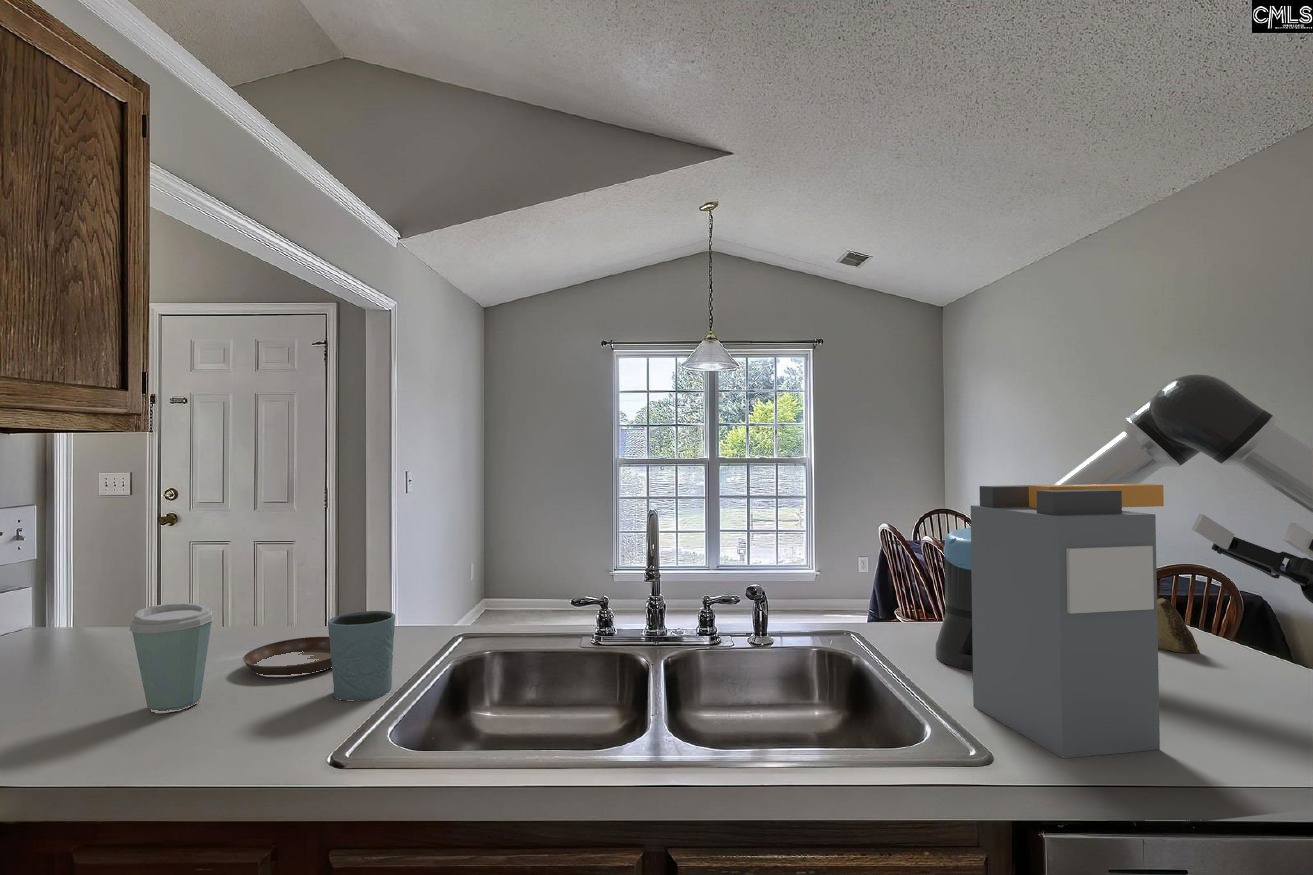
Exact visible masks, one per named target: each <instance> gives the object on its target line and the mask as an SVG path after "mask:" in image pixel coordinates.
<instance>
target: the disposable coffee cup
mask: <svg viewBox="0 0 1313 875" xmlns="http://www.w3.org/2000/svg"><path fill="white" fill-rule="evenodd" d="M213 612H214V611H213V610H212V609H210V607H209V606H207V605H204V604H202V603H201V604H200V603H193V602H192V603H190V602H174V603H173V602H172V603H169V602H168V603H163V604H157V605H152V606H149V607H145V608H142V609H139V610H137V611H136V612H135V614H134V616H133V620H132V621H131V622H130V624H129V632H131V633H132V638H133V643H134V646H135V652H136V653H135V654H136V656H137V663H138V667H139V671H140V676H141V681H142V687H143V691H144V696H145V701H146V707H147V708H150V709H152V710H158V711H167V710H168V711H169V710H179V709H183V708H185V707H188V706H191V705H194V704H195V703H197V702H198V701H199V702H200V699H201V696H202V691H203V683H204V677H205V671H206V663H207V657H208V649H209V642H210V636H211V629H212V622H213V620H214V617H215V616H214V613H213ZM199 702H198V703H199ZM150 709H149V710H150Z"/></svg>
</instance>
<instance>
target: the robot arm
mask: <svg viewBox="0 0 1313 875" xmlns="http://www.w3.org/2000/svg"><path fill="white" fill-rule="evenodd" d="M1199 453H1202V454H1204V455H1206V456H1208V457H1209V458H1211V459H1212V460H1214V461H1216V462H1218V463H1219V464H1220V465H1223V466H1224V465H1225V466H1228V465H1229V466H1230V465H1233V466H1236V467H1238V468H1239V469H1241V470H1243V471H1244V472H1246V473H1247V474H1249V475H1250V476H1252V477H1254V478H1255V479H1257V480H1258V481H1260V482H1261V483H1263V484H1264V485H1266V486H1268V487H1269V488H1271V489H1272V490H1273V491H1276V493H1278V494H1280V495H1281V496H1283V497H1285V498H1286V499H1287V500H1289V501H1291V502H1292V503H1294V504H1296V505H1297V506H1299V507H1300V508H1302V509H1303V510H1305V511H1306V512H1308V513H1310V514H1311V515H1313V447H1311V446H1309V445H1308V444H1306V443H1305V442H1303V441H1302V440H1299V439H1298V438H1296V437H1295V436H1293V435H1292V434H1289V433H1288V432H1287V431H1285V430H1284V429H1281V428H1280V427H1278V425H1277V423H1276V416H1274V415H1273V414H1272V413H1269V412H1268V411H1266V410H1265V409H1263V408H1262V407H1260V406H1259V405H1258V404H1255V402H1253V401H1251V400H1250V399H1249V398H1248V397H1246V396H1244V395H1243V394H1241V393H1240V392H1239V391H1238V390H1237V389H1235V388H1234V387H1233V386H1231V384H1228V383H1227V382H1226V381H1224V380H1222V379H1220V378H1217V377H1216V376H1211V375H1206V374H1188V375H1184V376H1179V377H1177V378H1174V379H1173V380H1170V381H1169V382H1167V383H1165V385H1163V386H1162V387H1161V388H1160V389H1159V391H1157V392H1156V394H1155V395H1153V397H1151V398H1150V399H1148V400H1147V401H1146V402H1144V403H1143V404H1142V405H1140V406H1139V407H1137V409H1136V410H1134V411H1133V412H1132V413H1130V414H1129V415H1128V416H1127V417H1125V418H1124V428H1123V431H1122V432H1120V433H1119V434H1117V435H1116V436H1115V437H1114V438H1112V439H1111V440H1110V441H1108V442H1107V443H1106V444H1104V445H1103V446H1102V447H1101V448H1099V449H1097V451H1095V452H1094V453H1093V454H1092V455H1090V456H1089V457H1087V458H1085V460H1084V461H1082V462H1081V463H1080V464H1078V465H1077V466H1076V467H1074V468H1073V469H1071V470H1070V471H1069V472H1067V473H1066V474H1065V475H1064V476H1062V477H1061V478H1060V479H1058V480H1057V481H1056V482H1054V483H1053V484H1052V485H1085V484H1142V483H1143V482H1144V481H1145V480H1147V479H1149V477H1151V476H1152V475H1153V474H1155V473H1156V472H1158V471H1159V470H1161V469H1162V468H1165V467H1171V468H1172V467H1177V468H1180V467H1181V466H1182V465H1184V464H1185V463H1187V462H1188V461H1189V460H1191V459H1193V457H1195V456H1197V455H1198V454H1199ZM1191 530H1193V531H1194V532H1196V533H1197V534H1198V535H1200V536H1202V537H1204V538H1205V539H1207V540H1208V541H1209V542H1212V543H1213V544H1212V546H1211V550H1212V551H1215V552H1216V553H1217V554H1219V555H1221V554H1222V555H1224V556H1226V557H1228V558H1230V559H1232V560H1236V561H1237V562H1239V563H1242V564H1245V565H1247V566H1249V567H1251V568H1254V569H1255V570H1258V571H1260V572H1262V573H1264V574H1266V575H1267V576H1269V577H1271V578H1273V579H1278V580H1279V579H1280V577H1283V578H1286V579H1288V580H1290V581H1291V582H1292V583H1295V584H1297V585H1299V586H1300V590H1301V593H1302V595H1303V596H1304V597H1305V599H1306V600H1307V601H1308V602H1310V603H1311V604H1313V533H1312V532H1311V531H1309V530H1307V529H1306V528H1304V527H1303V526H1301V525H1300V524H1299V523H1296V522H1290V523H1289V525H1288V528H1287V529H1286V531H1285V533H1284V536H1283V538H1282V541H1284V542H1285V543H1286V544H1288V545H1290V547H1293V548H1295V549H1296V550H1298V551H1299V552H1301V553H1302V554H1304V555H1305V556H1306V557H1300V556H1297V555H1294V554H1292V553H1289V552H1286V551H1279V552H1277V551H1274V550H1272V549H1270V548H1266V547H1263V546H1261V545H1257V544H1255V543H1252V542H1250V541H1247V540H1245V539H1241V538H1239V537H1236V536H1235V535H1236V533H1233V532H1232V531H1230V530H1229V529H1228V528H1225V527H1224V526H1222V525H1221V524H1219V523H1218V522H1216V521H1214V520H1213V519H1211V518H1210V517H1209V516H1207V515H1205V514H1204V513H1199V514H1198V515H1197V517H1196V519H1195V522H1194V524H1193V526H1192V528H1191ZM943 556H944V599H945V601H944V602H945V605H944V606H945V609H944V610H945V611H944V613H945V614H944V618H943V621H942V625H941V628H940V631H939V634H938V637H937V640H936V642H935V658H936V659H937V660H939V661H940V662H941V663H944V664H946V665H948V666H951V667H955V668H958V669H962V670H966V671H967V670H968V671H972V672H973V643H972V572H971V527H965V528H964V527H963V529H962V528H961V529H960V528H958V529H955V530H952V531H950V532H948V534H947V535H946V536H945V539H944V546H943ZM1307 557H1308V558H1307ZM1285 559H1287V560H1288V561H1287V562H1286V564H1285V563H1284V561H1285Z"/></svg>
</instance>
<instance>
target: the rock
mask: <svg viewBox="0 0 1313 875" xmlns="http://www.w3.org/2000/svg"><path fill="white" fill-rule="evenodd" d="M1157 623H1158V649H1161V650H1167V651H1170V652H1171V651H1172V652H1175V653H1185V654H1186V653H1187V654H1200V652H1201V651H1200V650H1199V648H1198V647H1199V646H1198V643H1197V642H1196V640H1195V637H1194V635H1193V633H1192V631H1191V630H1190V629H1189V628H1188V627H1187V624H1186V622H1185V621H1184V619H1183V617H1182V615H1181V614H1180V613H1179V611H1178V609H1177V608H1175V606H1174V605H1173V604H1172V602H1171V601H1170V600H1169V599H1165V598H1163V597H1160V598H1157Z"/></svg>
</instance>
